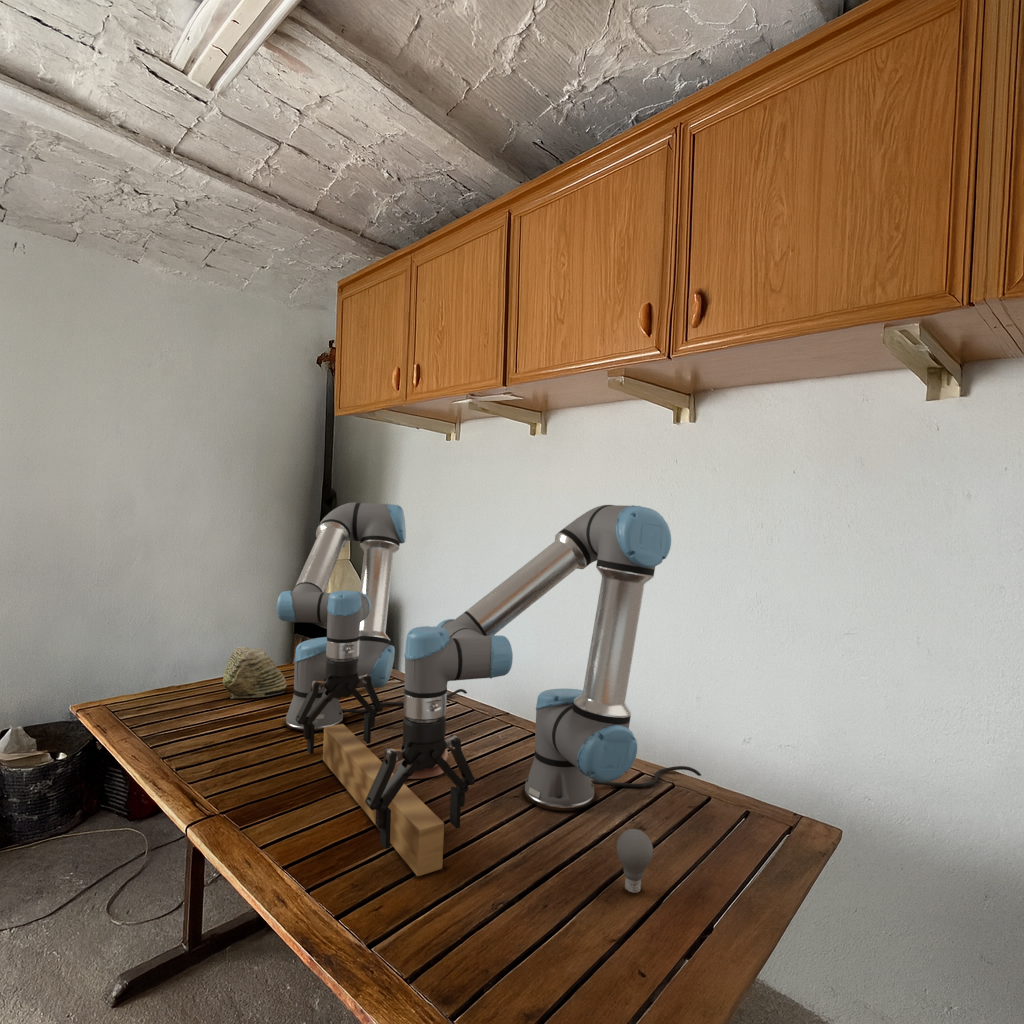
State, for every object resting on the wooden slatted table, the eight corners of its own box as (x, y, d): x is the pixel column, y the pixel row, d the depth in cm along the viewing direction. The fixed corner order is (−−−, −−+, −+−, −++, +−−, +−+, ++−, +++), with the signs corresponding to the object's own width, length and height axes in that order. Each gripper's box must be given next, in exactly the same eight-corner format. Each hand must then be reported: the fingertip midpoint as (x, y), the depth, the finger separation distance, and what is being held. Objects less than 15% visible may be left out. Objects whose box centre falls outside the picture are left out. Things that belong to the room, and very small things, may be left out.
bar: (322, 760, 152) (323, 726, 152) (341, 756, 155) (343, 723, 155) (417, 876, 107) (419, 829, 107) (442, 868, 110) (444, 823, 110)
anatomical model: (382, 758, 144) (400, 740, 156) (381, 775, 145) (400, 756, 156) (437, 765, 142) (452, 746, 153) (436, 783, 142) (451, 763, 153)
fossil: (218, 695, 195) (220, 647, 195) (278, 685, 208) (279, 640, 207) (228, 703, 189) (230, 653, 188) (289, 692, 201) (290, 645, 201)
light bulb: (610, 879, 108) (613, 822, 108) (644, 879, 109) (647, 822, 109) (619, 902, 102) (622, 840, 102) (655, 901, 103) (658, 840, 103)
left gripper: (292, 667, 139) (289, 762, 140) (398, 655, 153) (394, 742, 153) (283, 659, 145) (280, 750, 146) (386, 648, 159) (383, 732, 160)
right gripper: (364, 735, 102) (360, 865, 102) (495, 711, 116) (491, 826, 116) (348, 720, 108) (345, 843, 109) (475, 699, 122) (471, 808, 122)
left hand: (339, 746), depth 150 cm, fingers open, 13 cm apart
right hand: (420, 834), depth 112 cm, fingers open, 13 cm apart
